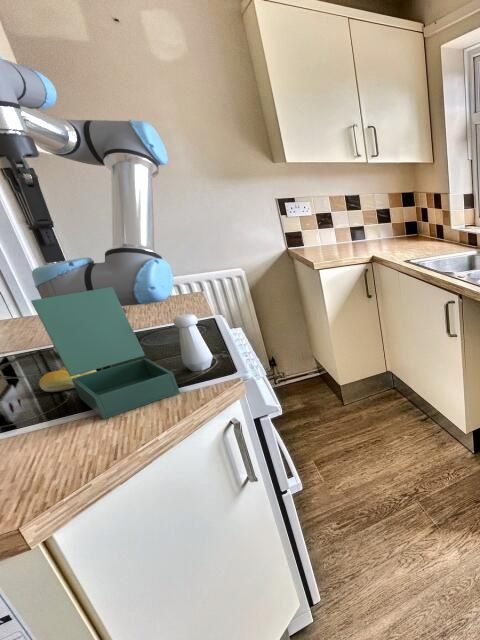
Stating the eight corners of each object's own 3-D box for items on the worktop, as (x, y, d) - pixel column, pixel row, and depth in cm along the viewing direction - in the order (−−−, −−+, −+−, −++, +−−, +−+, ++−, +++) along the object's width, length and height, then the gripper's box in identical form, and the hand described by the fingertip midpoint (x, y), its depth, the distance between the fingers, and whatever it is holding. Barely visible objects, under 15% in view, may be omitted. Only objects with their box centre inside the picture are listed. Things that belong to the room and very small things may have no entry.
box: (180, 392, 88) (172, 372, 86) (103, 419, 78) (94, 397, 77) (152, 376, 96) (145, 357, 94) (80, 398, 86) (71, 378, 85)
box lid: (112, 286, 91) (111, 287, 91) (31, 300, 82) (30, 301, 82) (145, 355, 94) (144, 356, 94) (70, 376, 84) (70, 376, 85)
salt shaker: (192, 375, 96) (174, 320, 91) (180, 369, 98) (162, 317, 94) (219, 365, 100) (203, 313, 95) (208, 360, 103) (192, 310, 98)
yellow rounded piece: (32, 392, 90) (23, 375, 88) (79, 374, 98) (72, 358, 96) (63, 394, 88) (55, 377, 87) (108, 376, 96) (101, 360, 95)
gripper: (39, 132, 77) (89, 261, 86) (23, 137, 84) (71, 256, 93) (-24, 129, 71) (37, 267, 80) (-35, 135, 78) (22, 261, 87)
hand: (55, 261), depth 86 cm, fingers closed
